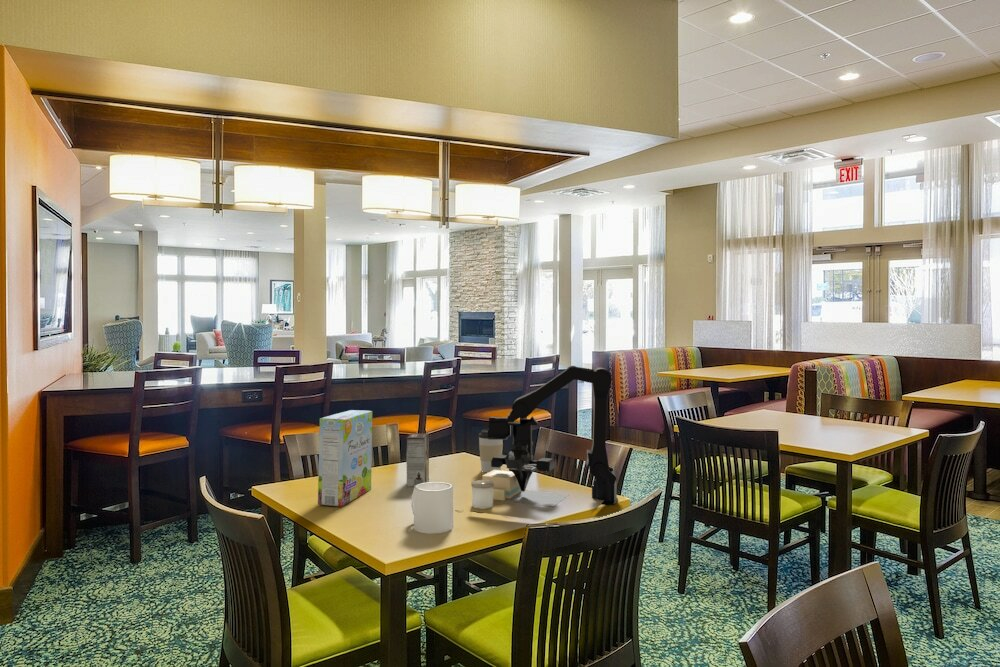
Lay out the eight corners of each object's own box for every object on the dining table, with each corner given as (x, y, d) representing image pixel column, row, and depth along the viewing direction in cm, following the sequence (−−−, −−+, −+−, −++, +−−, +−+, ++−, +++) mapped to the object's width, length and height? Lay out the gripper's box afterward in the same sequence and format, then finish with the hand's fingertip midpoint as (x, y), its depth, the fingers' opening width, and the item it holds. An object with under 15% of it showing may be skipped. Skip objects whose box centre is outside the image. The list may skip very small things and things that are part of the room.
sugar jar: (497, 508, 189) (497, 481, 189) (488, 514, 183) (488, 486, 183) (477, 505, 191) (477, 479, 191) (467, 511, 186) (467, 484, 185)
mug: (397, 525, 173) (397, 484, 173) (427, 516, 181) (427, 478, 181) (431, 536, 164) (431, 493, 164) (461, 526, 171) (461, 486, 171)
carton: (521, 491, 203) (521, 471, 203) (509, 498, 195) (509, 478, 194) (494, 488, 207) (494, 469, 206) (482, 495, 198) (482, 475, 198)
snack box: (344, 508, 189) (344, 419, 189) (316, 506, 191) (316, 418, 191) (373, 489, 211) (373, 409, 210) (348, 488, 212) (348, 408, 212)
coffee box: (410, 480, 223) (410, 433, 223) (429, 480, 223) (429, 433, 223) (406, 486, 214) (405, 437, 214) (425, 486, 214) (425, 437, 214)
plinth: (568, 498, 199) (568, 484, 199) (553, 510, 186) (553, 495, 186) (493, 490, 209) (493, 477, 209) (474, 501, 196) (474, 487, 196)
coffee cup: (493, 475, 230) (493, 432, 230) (473, 471, 236) (473, 430, 236) (508, 470, 237) (508, 429, 237) (488, 467, 243) (488, 426, 243)
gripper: (483, 442, 193) (483, 495, 194) (542, 446, 186) (543, 501, 186) (498, 436, 204) (498, 486, 204) (555, 439, 196) (555, 491, 196)
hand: (523, 491), depth 197 cm, fingers closed
